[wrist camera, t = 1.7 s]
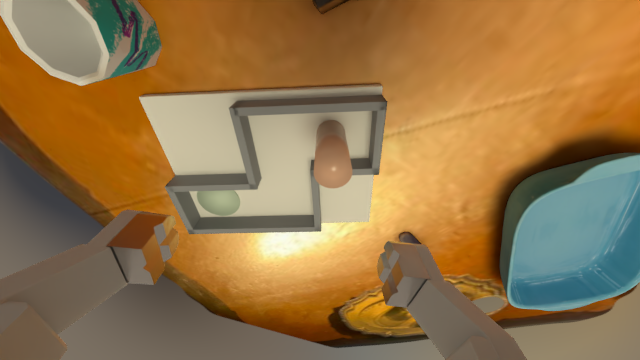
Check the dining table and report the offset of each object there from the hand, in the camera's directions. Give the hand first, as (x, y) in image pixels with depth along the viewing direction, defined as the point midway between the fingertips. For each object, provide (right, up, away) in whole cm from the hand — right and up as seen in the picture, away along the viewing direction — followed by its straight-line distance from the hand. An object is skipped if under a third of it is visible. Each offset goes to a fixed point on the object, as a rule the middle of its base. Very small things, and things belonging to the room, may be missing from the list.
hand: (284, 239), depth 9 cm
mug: (-22, +21, +17) cm, 35 cm away
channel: (-6, +5, +28) cm, 29 cm away
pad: (-16, -1, +30) cm, 34 cm away
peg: (+3, +9, +23) cm, 25 cm away
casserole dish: (+45, -6, +34) cm, 57 cm away
